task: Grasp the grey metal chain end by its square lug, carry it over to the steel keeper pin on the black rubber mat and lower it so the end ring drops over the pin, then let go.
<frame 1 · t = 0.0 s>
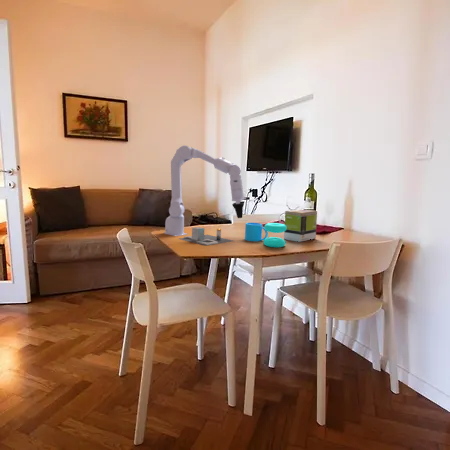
hand: (240, 217, 169), 11 cm above the table, tool pointing down, fingers open, 7 cm apart
chain end: (197, 240, 158), resting on mat
donuts: (274, 246, 156), on the table
mug: (256, 241, 165), on the table
mat: (206, 240, 161), on the table
tea box: (299, 239, 175), on the table
keeper pin: (218, 239, 162), resting on mat
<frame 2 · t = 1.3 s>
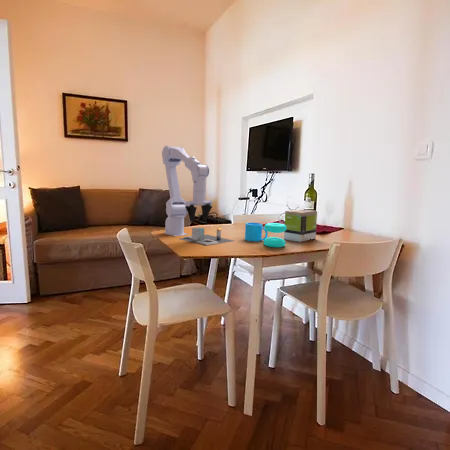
hand: (198, 221, 156), 9 cm above the table, tool pointing down, fingers open, 7 cm apart
nothing on the table moved.
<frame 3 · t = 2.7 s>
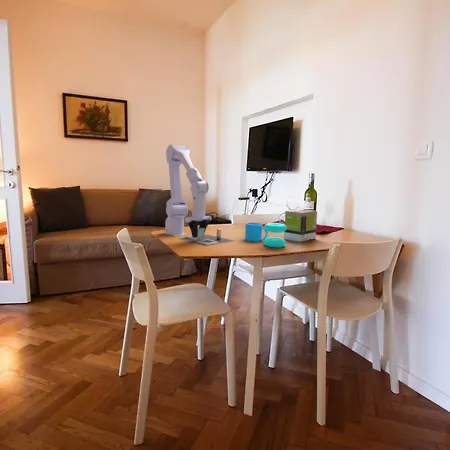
hand: (198, 236, 157), 2 cm above the table, tool pointing down, fingers closed on chain end, 4 cm apart
chain end: (197, 240, 158), resting on mat, touching gripper
everything else where it was.
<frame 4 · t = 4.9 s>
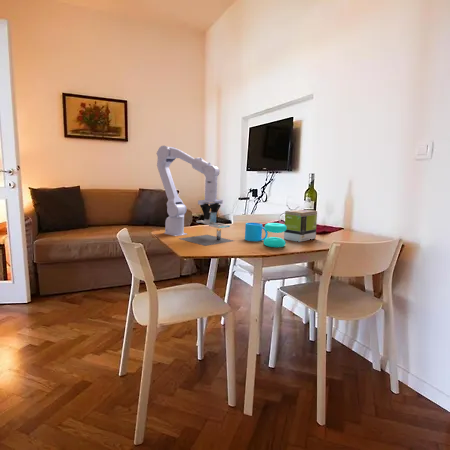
hand: (210, 219, 165), 9 cm above the table, tool pointing down, fingers closed on chain end, 4 cm apart
chain end: (210, 224, 165), point 7 cm above the table, touching gripper
everything else where it was.
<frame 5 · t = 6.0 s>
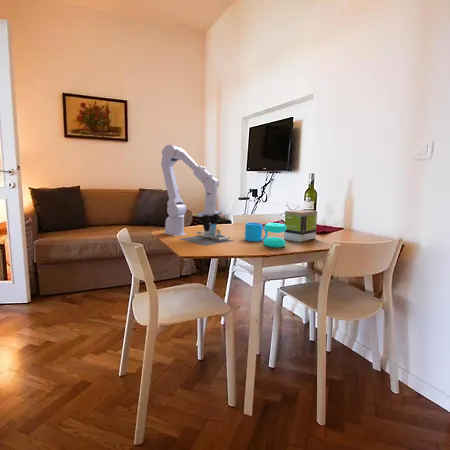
hand: (209, 230, 166), 4 cm above the table, tool pointing down, fingers closed on chain end, 4 cm apart
chain end: (209, 235, 166), point 1 cm above the table, touching gripper
everything else where it was.
when the fingers open (3 cm above the table, at t = 7.1 s): chain end stays where it is, resting on mat.
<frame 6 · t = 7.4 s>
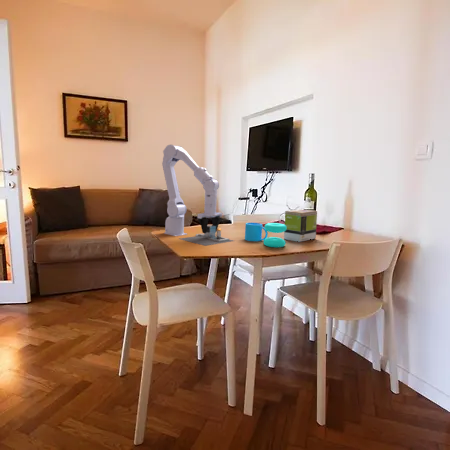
hand: (209, 232, 166), 3 cm above the table, tool pointing down, fingers open, 6 cm apart
chain end: (209, 237, 166), resting on mat
everything else where it was.
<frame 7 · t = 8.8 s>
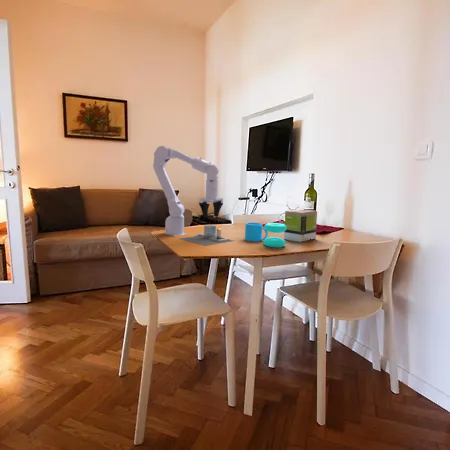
hand: (210, 216, 170), 10 cm above the table, tool pointing down, fingers open, 7 cm apart
nothing on the table moved.
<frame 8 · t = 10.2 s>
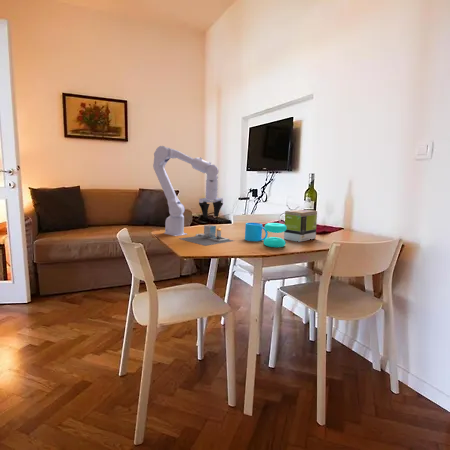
hand: (210, 216, 170), 10 cm above the table, tool pointing down, fingers open, 7 cm apart
nothing on the table moved.
at the end: chain end 0.2 cm from the target spot on the table beside the keeper pin, resting on mat; chain end tilted 0°; the gripper is holding nothing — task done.
